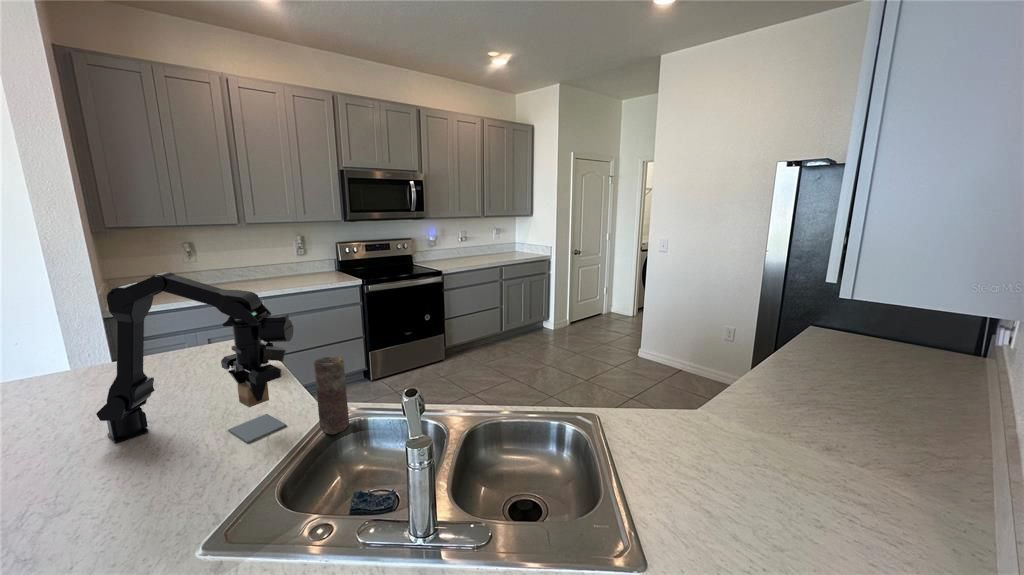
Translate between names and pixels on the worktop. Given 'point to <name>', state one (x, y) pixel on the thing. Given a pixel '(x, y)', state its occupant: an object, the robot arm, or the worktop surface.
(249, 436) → the slate pad
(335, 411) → the candle
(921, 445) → the worktop surface
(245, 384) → the walnut cube
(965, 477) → the worktop surface
